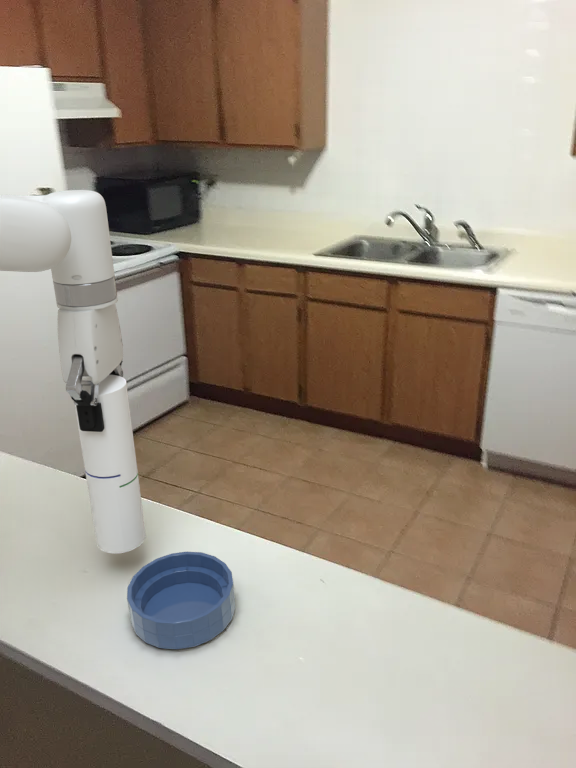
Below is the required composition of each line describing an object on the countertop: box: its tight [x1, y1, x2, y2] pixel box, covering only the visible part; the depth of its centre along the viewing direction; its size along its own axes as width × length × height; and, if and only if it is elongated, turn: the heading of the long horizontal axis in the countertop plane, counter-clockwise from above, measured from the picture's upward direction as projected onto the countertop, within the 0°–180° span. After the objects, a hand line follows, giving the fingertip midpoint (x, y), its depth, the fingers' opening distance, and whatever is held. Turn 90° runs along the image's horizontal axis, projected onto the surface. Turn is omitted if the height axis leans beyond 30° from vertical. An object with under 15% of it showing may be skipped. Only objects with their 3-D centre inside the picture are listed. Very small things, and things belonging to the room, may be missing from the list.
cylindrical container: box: [73, 375, 147, 554], centre depth 95 cm, size 7×7×25 cm
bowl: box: [126, 551, 236, 650], centre depth 92 cm, size 14×14×5 cm
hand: (104, 416), depth 92 cm, fingers closed on cylindrical container, 7 cm apart
